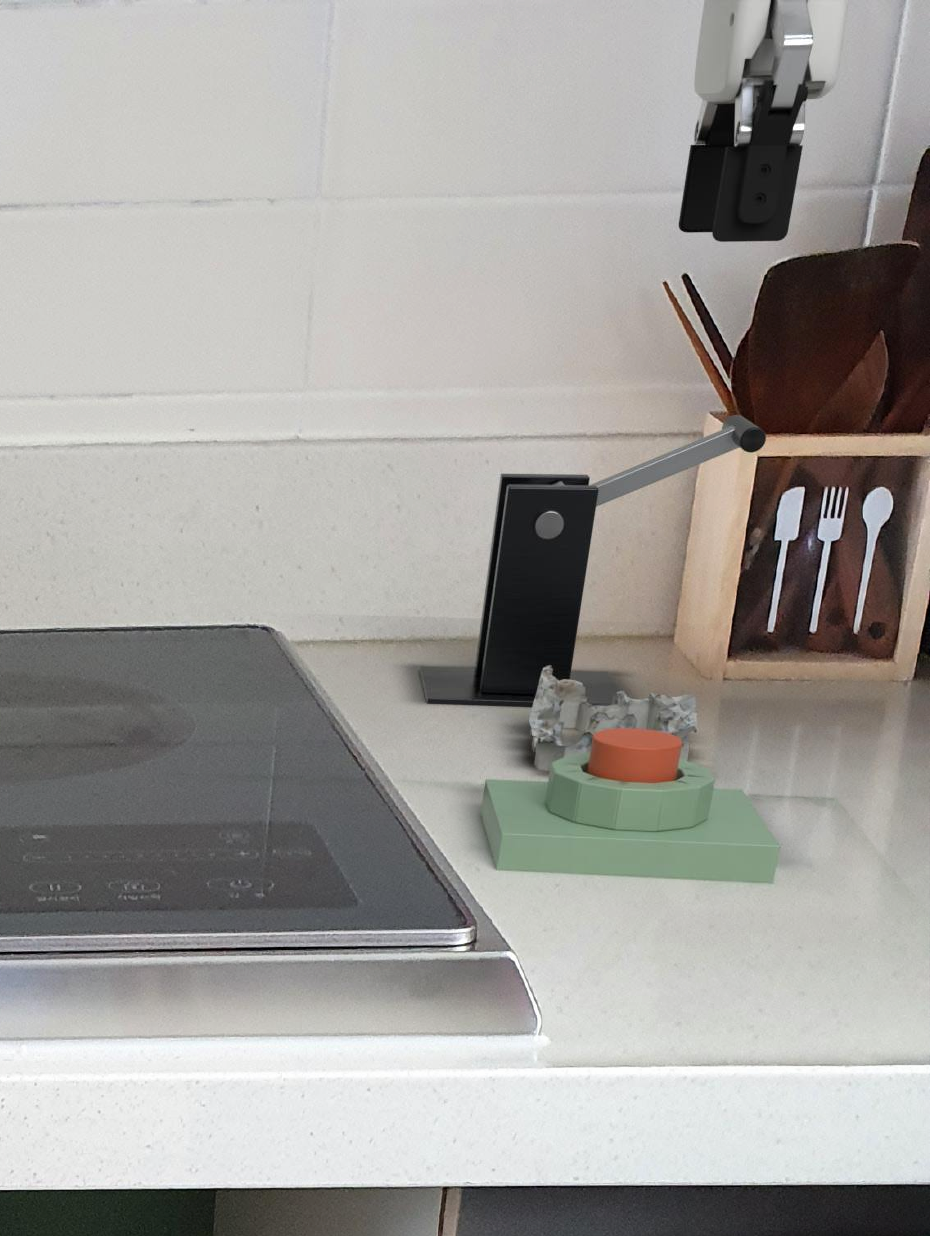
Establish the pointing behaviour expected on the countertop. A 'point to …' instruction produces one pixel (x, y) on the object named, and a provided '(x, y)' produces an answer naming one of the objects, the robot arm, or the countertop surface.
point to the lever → (682, 458)
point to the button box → (627, 826)
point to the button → (634, 755)
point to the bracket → (529, 597)
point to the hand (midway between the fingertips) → (729, 236)
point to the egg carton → (600, 717)
